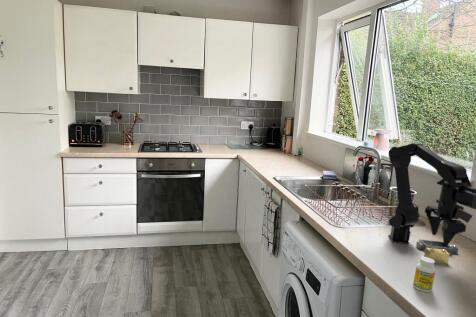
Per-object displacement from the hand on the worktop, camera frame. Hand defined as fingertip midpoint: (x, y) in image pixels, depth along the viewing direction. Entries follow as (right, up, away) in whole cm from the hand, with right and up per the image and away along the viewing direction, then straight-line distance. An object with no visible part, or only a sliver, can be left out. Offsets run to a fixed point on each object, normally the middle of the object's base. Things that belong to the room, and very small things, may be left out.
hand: (439, 240), depth 133 cm
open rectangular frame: (+4, -6, +11) cm, 13 cm away
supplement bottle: (-16, -11, -19) cm, 27 cm away
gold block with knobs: (-1, -8, +1) cm, 8 cm away
